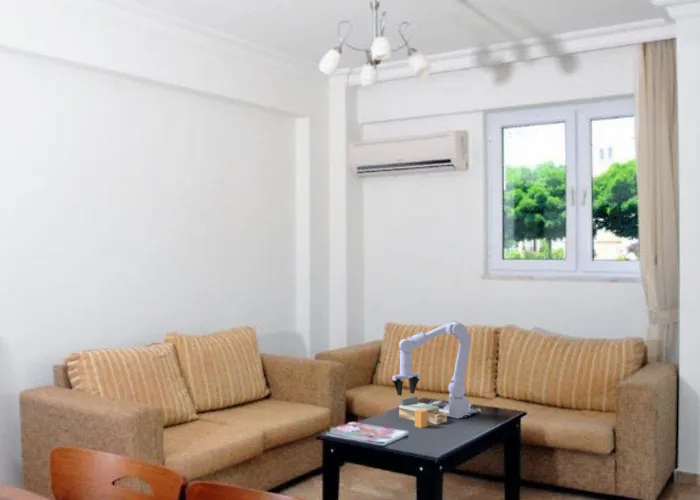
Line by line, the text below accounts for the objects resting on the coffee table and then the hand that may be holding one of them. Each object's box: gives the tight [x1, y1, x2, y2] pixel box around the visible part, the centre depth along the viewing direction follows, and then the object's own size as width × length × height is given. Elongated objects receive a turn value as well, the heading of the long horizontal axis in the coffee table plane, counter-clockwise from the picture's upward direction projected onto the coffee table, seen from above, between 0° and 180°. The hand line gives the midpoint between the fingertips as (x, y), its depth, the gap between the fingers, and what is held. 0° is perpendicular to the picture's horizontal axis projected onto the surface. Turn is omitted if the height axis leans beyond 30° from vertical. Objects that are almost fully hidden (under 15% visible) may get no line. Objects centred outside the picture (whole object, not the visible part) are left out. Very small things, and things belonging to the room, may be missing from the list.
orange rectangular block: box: [414, 409, 428, 429], centre depth 324 cm, size 4×4×7 cm
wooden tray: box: [398, 408, 448, 425], centre depth 337 cm, size 12×21×4 cm, turn 41°
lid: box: [398, 395, 440, 411], centre depth 340 cm, size 12×14×4 cm
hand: (405, 394), depth 342 cm, fingers open, 7 cm apart
